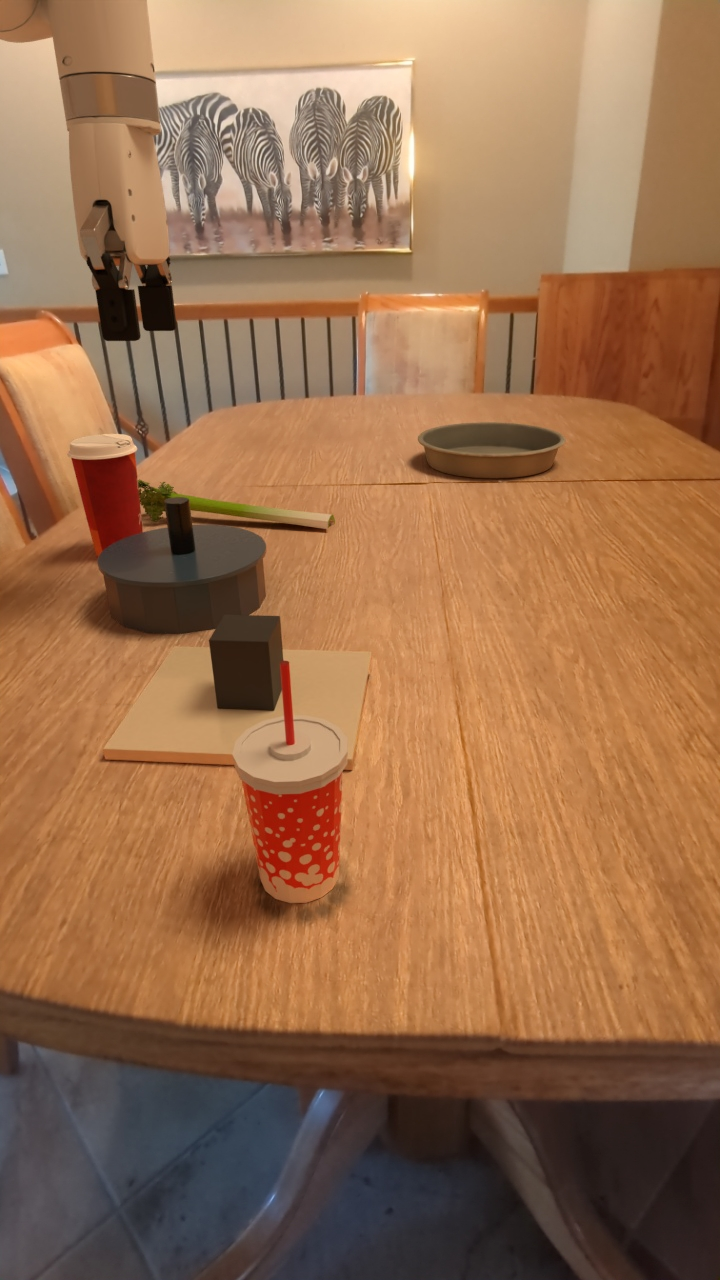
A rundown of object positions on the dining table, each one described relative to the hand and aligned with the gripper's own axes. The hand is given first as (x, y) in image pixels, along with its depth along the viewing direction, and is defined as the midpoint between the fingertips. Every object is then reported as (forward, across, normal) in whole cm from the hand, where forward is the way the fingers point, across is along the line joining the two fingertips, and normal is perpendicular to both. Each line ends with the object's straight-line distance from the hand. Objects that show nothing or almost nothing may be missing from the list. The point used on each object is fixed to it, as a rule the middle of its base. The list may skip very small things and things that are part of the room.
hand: (142, 335), depth 70 cm
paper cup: (+26, -11, -11) cm, 30 cm away
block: (+25, +22, +13) cm, 36 cm away
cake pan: (+26, -58, +36) cm, 73 cm away
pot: (+26, +3, +2) cm, 26 cm away
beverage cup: (+26, +40, +20) cm, 52 cm away
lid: (+20, +3, +2) cm, 21 cm away
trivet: (+26, +22, +13) cm, 36 cm away
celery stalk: (+26, -24, -1) cm, 35 cm away
